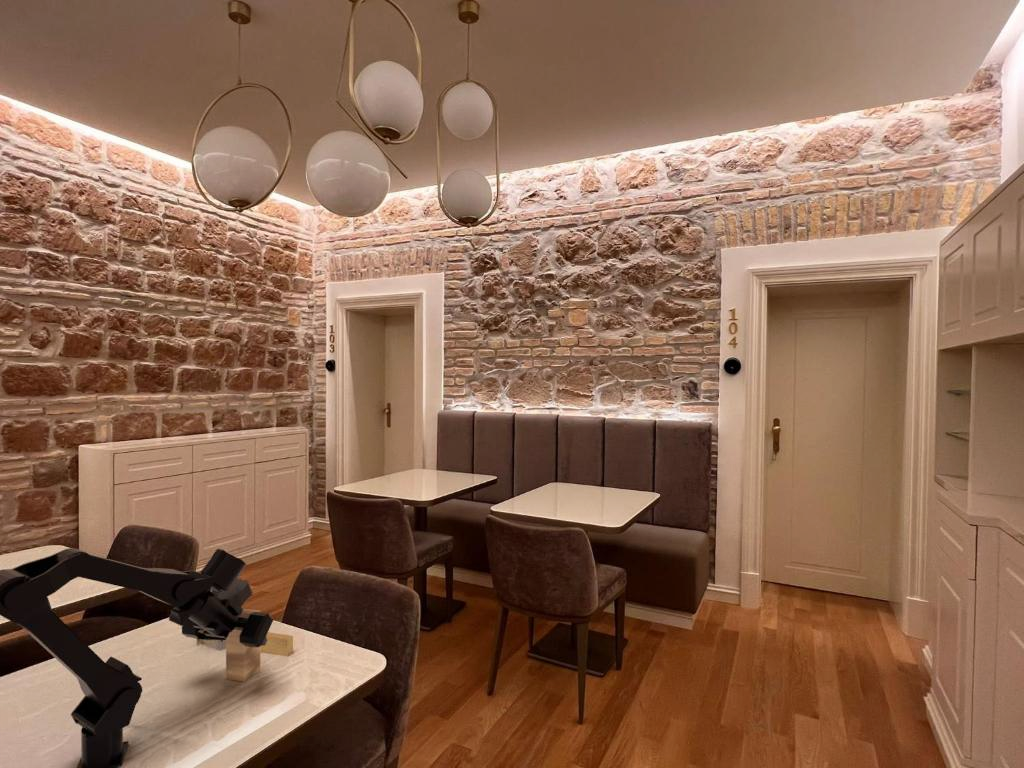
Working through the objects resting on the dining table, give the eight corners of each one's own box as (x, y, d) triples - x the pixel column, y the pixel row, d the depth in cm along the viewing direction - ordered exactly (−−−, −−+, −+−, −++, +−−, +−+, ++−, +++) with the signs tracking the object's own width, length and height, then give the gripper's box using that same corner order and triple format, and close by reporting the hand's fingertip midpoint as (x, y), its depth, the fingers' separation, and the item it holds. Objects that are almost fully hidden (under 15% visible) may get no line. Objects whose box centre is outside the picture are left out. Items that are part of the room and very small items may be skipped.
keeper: (244, 682, 119) (243, 620, 119) (225, 678, 120) (225, 618, 120) (261, 669, 124) (260, 610, 124) (243, 666, 125) (242, 608, 125)
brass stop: (287, 656, 130) (287, 639, 130) (257, 652, 132) (257, 635, 132) (292, 652, 132) (292, 635, 132) (263, 648, 134) (263, 631, 134)
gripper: (266, 576, 115) (300, 608, 126) (191, 568, 120) (231, 599, 131) (239, 631, 108) (277, 660, 119) (160, 620, 113) (204, 649, 123)
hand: (247, 640), depth 123 cm, fingers open, 9 cm apart
